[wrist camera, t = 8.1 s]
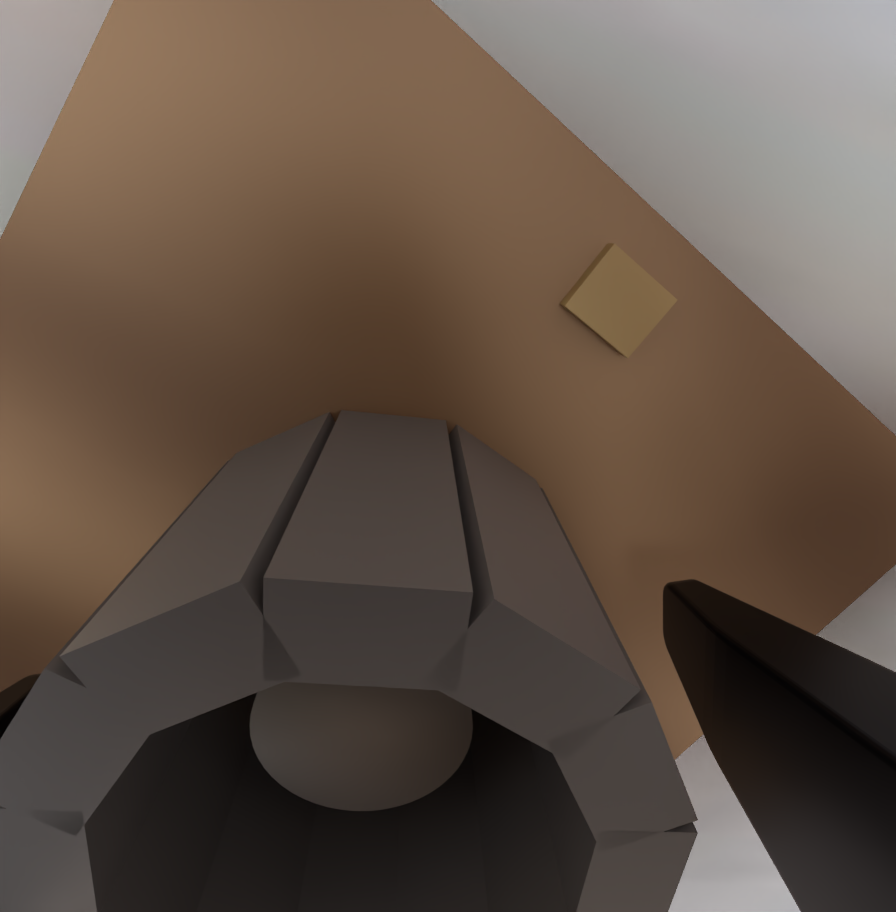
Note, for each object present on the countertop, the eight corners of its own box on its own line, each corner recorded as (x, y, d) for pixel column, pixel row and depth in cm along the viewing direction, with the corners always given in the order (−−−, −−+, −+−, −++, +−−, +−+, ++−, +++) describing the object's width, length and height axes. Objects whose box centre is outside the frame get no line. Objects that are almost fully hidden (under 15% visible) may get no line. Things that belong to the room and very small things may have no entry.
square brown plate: (453, 905, 14) (466, 1148, 10) (-151, 633, 10) (-468, 852, 7) (917, 478, 10) (1196, 610, 7) (240, -145, 7) (29, -604, 3)
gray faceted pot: (647, 557, 10) (860, 849, 5) (412, 805, 11) (407, 1189, 7) (315, 325, 8) (177, 435, 3) (101, 655, 10) (-187, 1024, 5)
